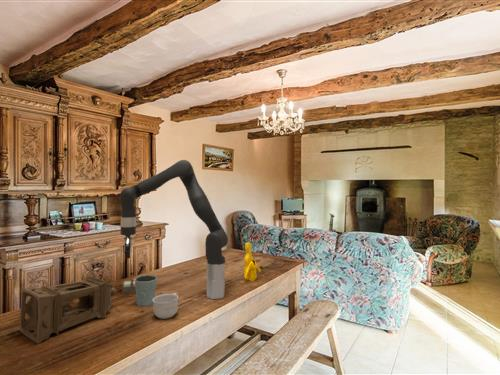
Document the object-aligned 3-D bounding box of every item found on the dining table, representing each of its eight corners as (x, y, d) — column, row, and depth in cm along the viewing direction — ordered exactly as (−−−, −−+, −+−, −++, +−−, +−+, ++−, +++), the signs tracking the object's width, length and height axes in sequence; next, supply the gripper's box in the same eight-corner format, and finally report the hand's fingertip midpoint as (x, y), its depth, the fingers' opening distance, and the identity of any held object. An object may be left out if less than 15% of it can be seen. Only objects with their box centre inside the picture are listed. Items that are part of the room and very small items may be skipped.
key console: (150, 290, 160) (150, 282, 160) (121, 293, 155) (122, 285, 155) (149, 283, 171) (149, 275, 171) (123, 285, 166) (123, 278, 166)
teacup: (164, 323, 123) (164, 304, 123) (146, 317, 129) (147, 298, 129) (188, 311, 135) (188, 294, 135) (171, 306, 141) (171, 289, 141)
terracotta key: (139, 287, 159) (139, 283, 159) (133, 288, 157) (133, 283, 157) (139, 284, 163) (139, 280, 163) (133, 285, 162) (133, 280, 162)
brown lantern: (107, 308, 143) (105, 269, 145) (129, 313, 133) (127, 270, 135) (19, 336, 114) (18, 287, 116) (39, 345, 104) (38, 291, 106)
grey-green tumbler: (150, 297, 151) (151, 273, 151) (160, 303, 144) (161, 278, 144) (130, 302, 144) (131, 277, 144) (140, 309, 137) (140, 283, 137)
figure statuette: (247, 284, 173) (248, 246, 172) (236, 281, 177) (237, 244, 177) (263, 276, 188) (264, 241, 187) (252, 274, 192) (253, 240, 192)
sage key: (130, 288, 157) (130, 283, 157) (123, 288, 156) (123, 284, 156) (130, 285, 161) (130, 281, 161) (124, 286, 160) (124, 281, 160)
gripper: (135, 227, 153) (135, 260, 154) (136, 223, 166) (135, 254, 166) (119, 227, 151) (119, 261, 151) (121, 223, 163) (120, 255, 163)
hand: (127, 258), depth 158 cm, fingers closed
